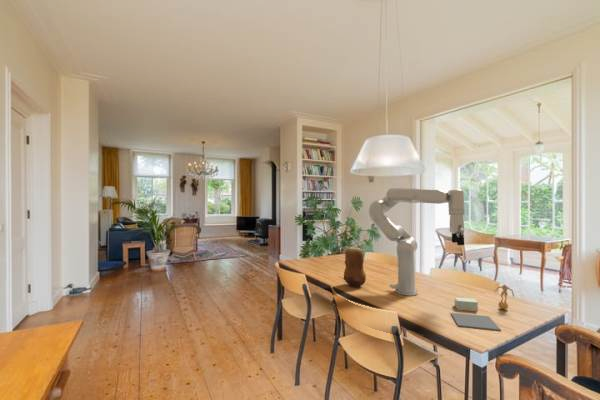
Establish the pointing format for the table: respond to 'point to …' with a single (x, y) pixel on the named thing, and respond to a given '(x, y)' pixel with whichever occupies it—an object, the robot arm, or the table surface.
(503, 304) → the figurine
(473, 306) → the card box
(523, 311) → the table surface
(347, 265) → the brown tall rounded piece
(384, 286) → the table surface
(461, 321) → the mat
